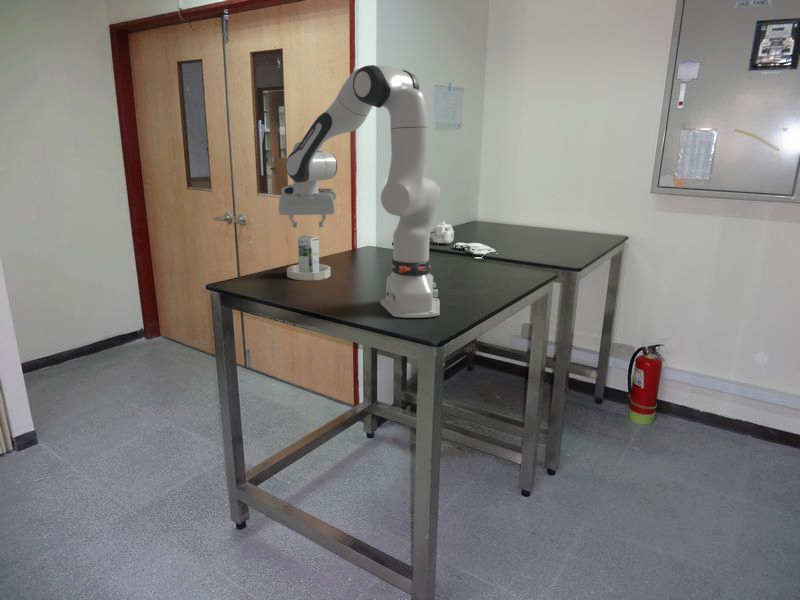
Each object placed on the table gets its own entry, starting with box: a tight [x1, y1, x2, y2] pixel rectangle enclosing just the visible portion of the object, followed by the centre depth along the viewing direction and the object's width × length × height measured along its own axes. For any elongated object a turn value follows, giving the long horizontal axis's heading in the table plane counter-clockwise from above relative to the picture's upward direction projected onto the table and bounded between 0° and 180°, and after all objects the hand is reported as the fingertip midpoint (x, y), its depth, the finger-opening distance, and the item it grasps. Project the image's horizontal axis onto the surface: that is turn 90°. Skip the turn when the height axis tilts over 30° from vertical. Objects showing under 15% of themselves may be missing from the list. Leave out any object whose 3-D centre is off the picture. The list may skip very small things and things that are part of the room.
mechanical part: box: [429, 220, 455, 244], centre depth 270 cm, size 11×12×12 cm
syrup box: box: [297, 235, 320, 273], centre depth 201 cm, size 6×6×14 cm
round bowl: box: [286, 263, 332, 281], centre depth 203 cm, size 16×16×3 cm
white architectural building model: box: [453, 242, 497, 260], centre depth 252 cm, size 23×25×4 cm
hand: (308, 227), depth 198 cm, fingers open, 8 cm apart
